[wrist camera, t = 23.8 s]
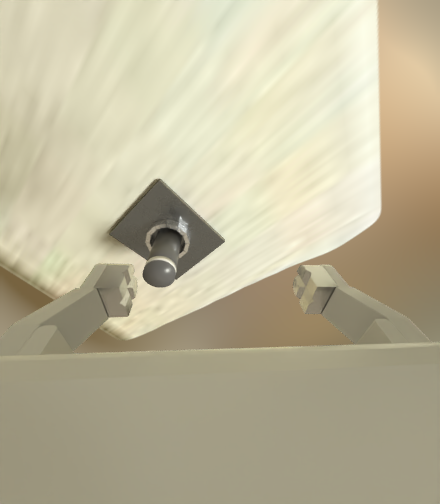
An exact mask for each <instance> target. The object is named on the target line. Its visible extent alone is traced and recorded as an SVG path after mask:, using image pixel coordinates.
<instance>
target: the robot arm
mask: <svg viewBox="0 0 440 504" xmlns="http://www.w3.org/2000/svg"><path fill="white" fill-rule="evenodd" d="M134 272H135V270H134V266H133V265H132V264H101V263H98V264H96V265H95V266H94V268H93V269H92V271H91V272H90V274H89V275H88V276H87V278H86V279H85V281H84V282H83V284H82V285H81V287H80V288H75V289H74V290H72V291H70V292H68V293H67V294H65V295H63V296H61V297H60V298H58V299H56V300H54V301H53V302H51V303H49V304H47V305H46V306H44V307H43V308H41V309H39V310H37V311H35V312H33V313H32V314H30V315H28V316H26V317H25V318H23V319H21V320H20V321H18V322H16V323H14V324H12V325H11V326H10V327H9V328H8V330H7V331H6V332H5V333H4V334H3V335H2V336H1V338H0V504H440V342H431V341H430V340H429V339H428V338H427V337H426V336H425V335H424V334H423V333H422V332H421V331H420V330H419V329H418V327H417V326H416V325H415V324H414V323H413V322H412V321H411V320H410V319H409V318H408V317H406V316H404V315H402V314H400V313H399V312H397V311H395V310H393V309H391V308H390V307H388V306H386V305H384V304H382V303H381V302H379V301H377V300H375V299H373V298H372V297H370V296H368V295H366V294H364V293H363V292H361V291H359V290H357V289H355V288H354V287H349V286H348V284H347V283H346V282H345V281H344V280H343V278H342V277H341V276H340V275H339V274H338V272H337V271H336V270H335V269H334V267H333V266H331V265H300V267H299V268H298V270H297V272H298V274H299V275H298V276H297V277H295V279H294V282H293V289H294V293H295V295H296V296H297V297H298V298H299V299H301V300H300V302H299V303H300V305H301V307H302V309H303V311H304V313H305V314H322V315H323V316H324V317H325V318H326V319H327V320H328V321H329V322H330V323H332V324H333V325H334V326H335V327H336V328H337V329H338V330H340V331H341V332H342V333H343V334H344V335H345V336H347V337H348V338H349V339H350V340H351V341H352V342H353V343H354V344H355V345H331V346H330V345H329V346H302V347H301V346H300V347H299V346H298V347H271V348H270V347H268V348H239V349H238V348H237V349H204V350H173V351H143V352H113V353H112V352H110V353H79V354H74V353H73V351H74V350H75V349H76V348H77V347H78V346H79V345H81V344H82V343H83V342H84V341H85V340H86V339H87V338H88V337H89V336H90V335H91V334H92V333H93V332H95V331H96V330H97V329H98V328H99V327H100V326H101V325H102V324H103V323H104V322H105V321H106V320H107V319H108V317H128V316H129V313H130V310H131V308H132V301H131V300H132V299H134V298H135V296H136V293H137V287H138V285H137V278H136V277H135V276H133V274H134Z"/></svg>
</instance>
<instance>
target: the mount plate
mask: <svg viewBox="0 0 440 504" xmlns="http://www.w3.org/2000/svg"><path fill="white" fill-rule="evenodd" d="M162 228H170V229H174V230H177V231H178V232H179V233H180V235H181V245H180V251H179V257H178V263H177V269H176V275H175V279H178V278H179V277H180V276H182V275H183V274H184V273H185V272H187V271H188V270H189V269H191V268H192V267H193V266H194V265H196V264H197V263H198V262H200V261H201V260H202V259H203V258H205V257H206V256H207V255H209V254H210V253H211V252H212V251H214V250H215V249H216V248H217V247H219V246H220V245H221V244H223V243H224V242H225V239H224V238H223V237H222V236H221V235H219V234H218V233H217V232H216V231H215V230H214V229H213V228H212V227H211V226H210V225H209V224H208V223H207V222H206V221H205V220H204V219H203V218H201V217H200V216H199V215H198V214H197V213H196V212H195V211H194V210H193V209H192V208H191V207H190V206H189V205H188V204H187V203H186V202H184V201H183V200H182V199H181V198H180V197H179V196H178V195H177V194H176V193H175V192H174V191H173V190H172V189H171V188H170V187H169V186H167V185H166V184H165V183H164V182H163V181H162V180H161V179H160V180H159V181H158V182H157V183H156V184H155V185H154V186H153V187H152V188H151V189H150V191H149V192H148V193H147V194H146V195H145V196H144V197H143V198H142V199H141V200H140V201H139V202H138V203H137V205H136V206H135V207H134V208H133V209H132V210H131V211H130V212H129V213H128V214H127V215H126V216H125V217H124V218H123V220H122V221H121V222H120V223H119V224H118V225H117V226H116V227H115V228H114V229H113V230H112V231H111V233H110V235H111V236H113V237H114V238H116V239H117V240H119V241H120V242H121V243H123V244H124V245H126V246H127V247H129V248H130V249H132V250H133V251H135V252H136V253H138V254H139V255H141V256H142V257H143V258H145V259H146V260H148V257H149V254H150V252H151V249H152V246H153V243H154V241H155V238H156V235H157V233H158V231H159V230H161V229H162Z"/></svg>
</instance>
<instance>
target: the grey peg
mask: <svg viewBox="0 0 440 504" xmlns="http://www.w3.org/2000/svg"><path fill="white" fill-rule="evenodd" d="M180 245H181V235H180V233H179V232H178V231H177V230H174V229H170V228H162V229H161V230H159V231H158V233H157V235H156V238H155V241H154V243H153V246H152V249H151V252H150V254H149V257H148V260H147V262H146V265H145V267H144V270H143V278H144V280H145V281H146V282H147V283H148V284H150V285H152V286H154V287H167V286H169V285H171V284H172V283H173V282H174V280H175V275H176V269H177V263H178V257H179V251H180Z"/></svg>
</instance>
